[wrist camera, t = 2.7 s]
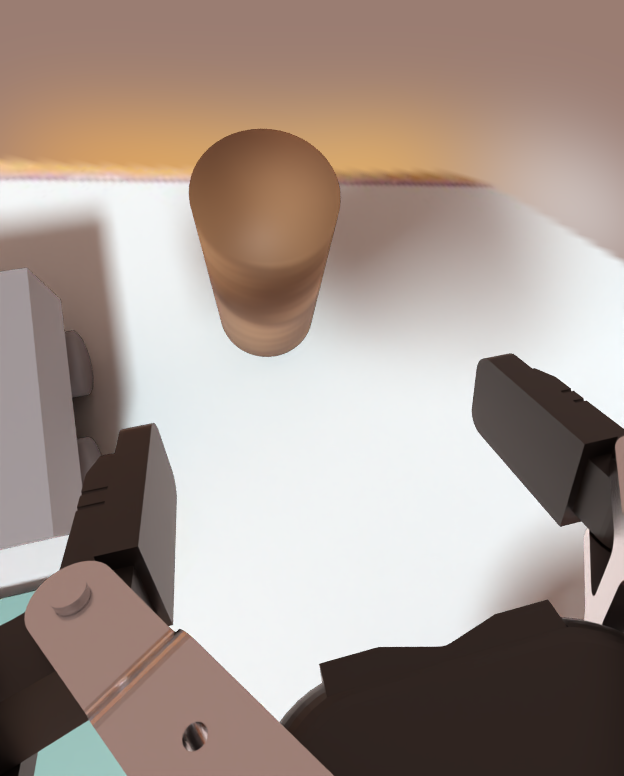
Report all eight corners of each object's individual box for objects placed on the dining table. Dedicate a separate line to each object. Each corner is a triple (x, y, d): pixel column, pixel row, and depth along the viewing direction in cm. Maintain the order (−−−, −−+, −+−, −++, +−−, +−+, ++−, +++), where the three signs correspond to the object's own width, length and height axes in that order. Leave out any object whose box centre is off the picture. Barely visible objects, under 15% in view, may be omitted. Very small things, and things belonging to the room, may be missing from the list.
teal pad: (105, 573, 21) (102, 575, 21) (133, 801, 19) (130, 807, 19) (-114, 625, 20) (-121, 627, 19) (-107, 872, 18) (-115, 881, 18)
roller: (301, 264, 25) (322, 121, 16) (320, 347, 24) (355, 249, 15) (213, 278, 25) (178, 137, 15) (229, 364, 24) (203, 273, 14)
